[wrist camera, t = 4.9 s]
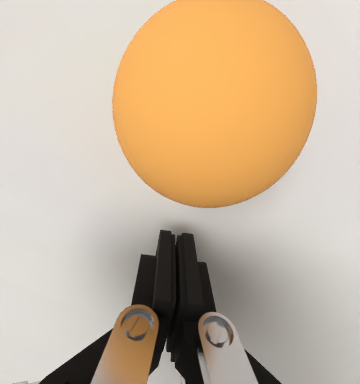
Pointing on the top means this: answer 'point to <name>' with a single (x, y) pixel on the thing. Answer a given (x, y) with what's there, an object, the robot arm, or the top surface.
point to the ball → (214, 100)
